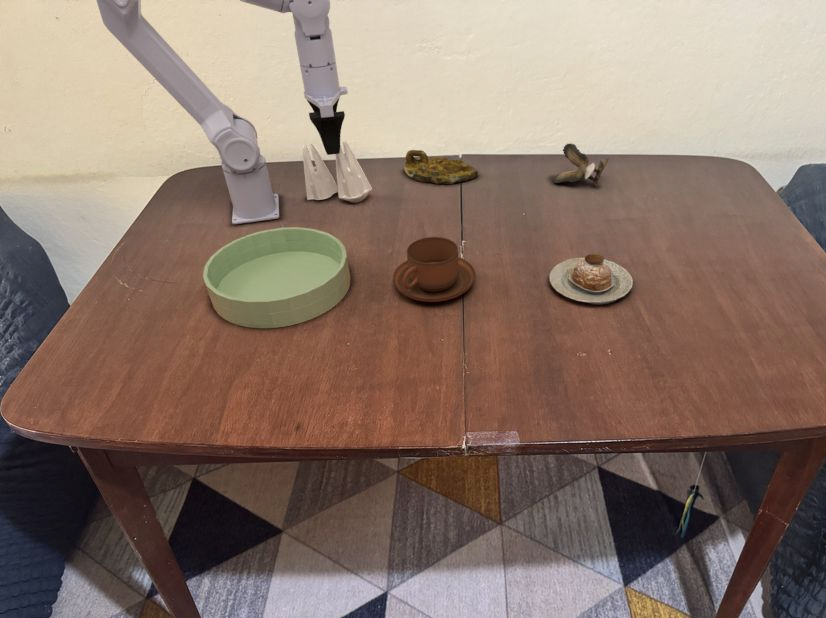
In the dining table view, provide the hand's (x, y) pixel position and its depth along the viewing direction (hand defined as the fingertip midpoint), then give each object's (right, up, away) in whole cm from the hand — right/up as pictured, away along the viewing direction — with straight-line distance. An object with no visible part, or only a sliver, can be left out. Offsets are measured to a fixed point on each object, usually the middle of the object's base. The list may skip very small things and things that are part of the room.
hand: (331, 145), depth 111 cm
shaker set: (0, -8, +7) cm, 10 cm away
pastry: (+42, -26, -17) cm, 52 cm away
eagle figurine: (+44, -4, +9) cm, 46 cm away
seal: (+18, -1, +14) cm, 23 cm away
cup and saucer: (+19, -26, -16) cm, 36 cm away
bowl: (-4, -26, -16) cm, 31 cm away
